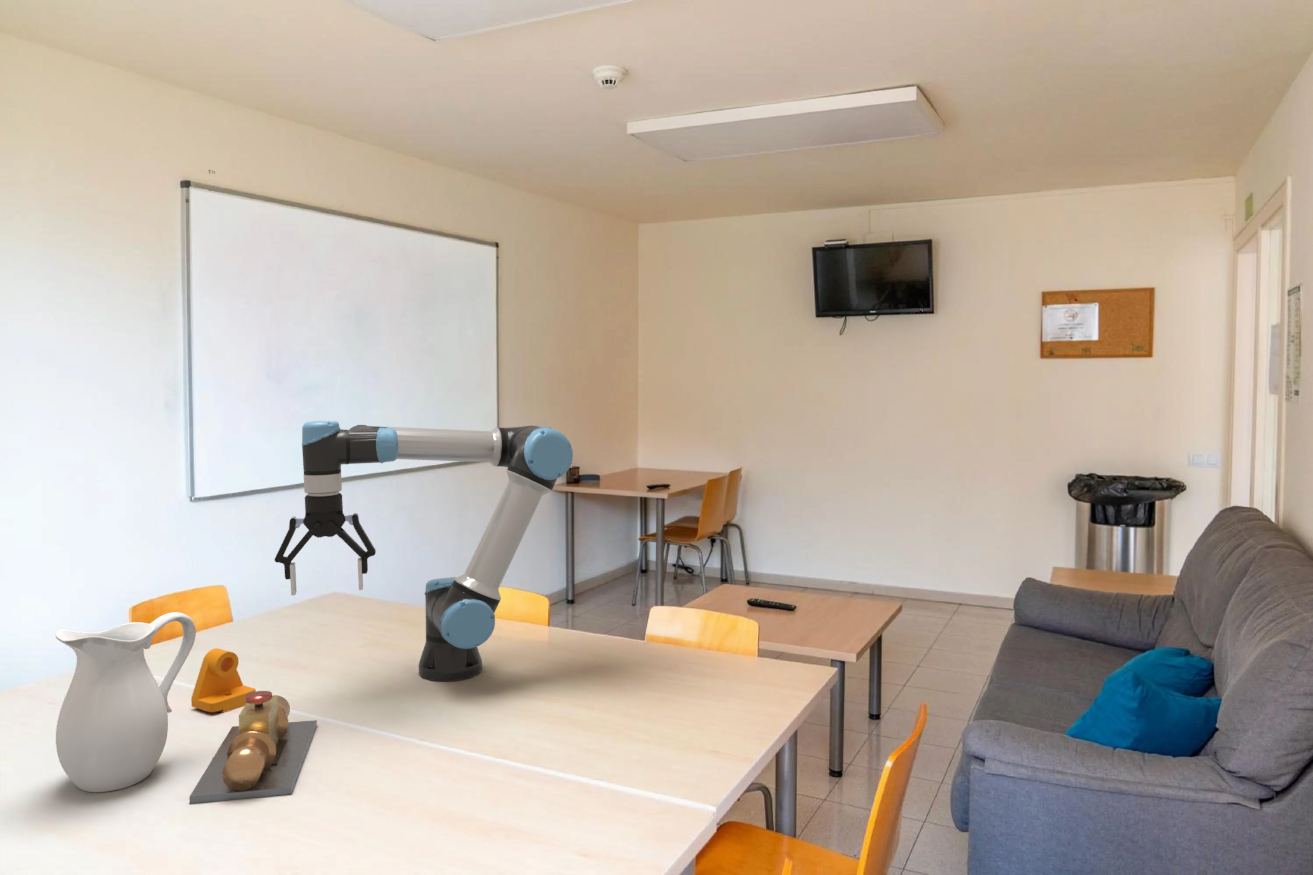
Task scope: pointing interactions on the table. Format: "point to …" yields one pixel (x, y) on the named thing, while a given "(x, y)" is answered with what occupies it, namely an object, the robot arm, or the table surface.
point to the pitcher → (116, 705)
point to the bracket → (219, 683)
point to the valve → (260, 714)
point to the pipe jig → (256, 762)
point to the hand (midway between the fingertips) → (327, 591)
